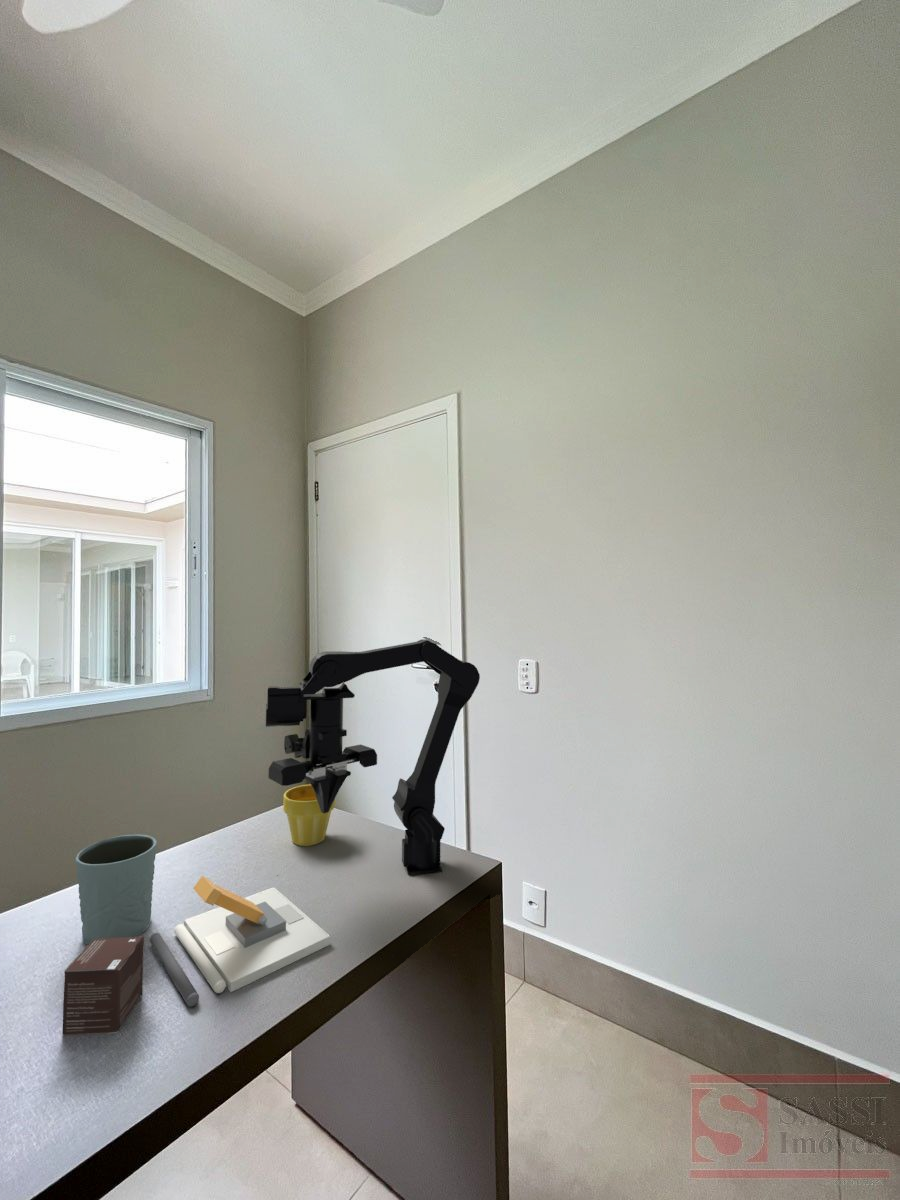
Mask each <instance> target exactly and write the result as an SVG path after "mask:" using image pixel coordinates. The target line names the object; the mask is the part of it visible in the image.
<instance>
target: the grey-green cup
mask: <svg viewBox="0 0 900 1200" xmlns="http://www.w3.org/2000/svg"><path fill="white" fill-rule="evenodd" d="M157 844H158V843H157V839H156V838H155V837H153V836H151V835H147V834H140V833H139V834H125V835H124V834H123V835H118V836H114V837H110V838H107V839H104V840H100V841H98V842H95V843H92V844H90V845H88V846H87V847H85V848H83V849H81V850H80V851H79V852H78V853H77V855H76V857H75V866H76V876H77V884H78V894H79V895H78V898H79V907H80V908H79V909H80V911H79V913H80V920H81V923H82V927H81V935H82V940H83V943H84V944H86V945H87V946H88V945H89V944H90V943H91V942H92V941H93V939H99V938H124V937H139V935H140V934H143V932H145V931H146V930H147V929H148V927H149V926H150V922H151V919H152V904H153V903H152V901H153V888H154V887H153V885H154V883H153V882H154V881H153V880H154V877H155V876H154V875H155V861H156V855H157Z"/></svg>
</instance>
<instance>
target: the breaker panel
mask: <svg viewBox="0 0 900 1200" xmlns="http://www.w3.org/2000/svg"><path fill="white" fill-rule="evenodd" d="M243 898H244V899H246V900H248V901H250V902H253V903H254V904H255V905H256V906H257V907H258V908H259V909H260V910H261V911H262V912H263V913H264V914H265V915H264V916H265V917H266V918H267V921H266V923H265V924H264V925H261V924H260V923H259V924H257V923H255V922H253V921H250V920H248V919H246V918H244V917H242V916H240V915H237V914H235V913H233V912H231V911H229V910H227V909H224V908H222V907H220V906H218V907H216V908H213V909H211V910H208V911H205V912H202V913H200V914H197V915H194V916H191V917H188V918H186V919H184V920H183V921H184V924H183V925H184V926H185V927H186V929H187V930H188V931H189V933H190V934H191V936H192V937H193V938H194V940H195V941H196V942H197V944H198V945H199V947H200V948H201V949H202V951H203V952H204V953H205V955H206V956H207V957H208V959H209V960H210V962H211V963H212V964H213V966H214V967H215V968H216V970H217V971H218V972H219V974H220V975H221V977H222V978H223V979H224V981H225V982H226V988H227V989H228V990H229V992H230V993H232V992H233V993H234V991H237V990H239V989H241V988H242V987H245V986H247V985H249V984H251V983H254V982H255V981H258V980H260V979H261V978H263V977H266V976H267V975H270V974H272V973H274V972H275V971H278V970H280V969H283V968H284V967H287V966H288V965H290V964H293V963H295V962H296V961H298V960H301V959H303V958H305V957H308V956H309V955H312V954H313V953H316V952H317V951H320V950H322V949H324V948H326V947H328V946H330V945H331V936H330V935H329V933H327V932H326V931H325V930H324V929H323V928H322V927H320V926H319V925H318V924H317V923H316V922H315V921H313V919H311V918H310V917H309V916H308V915H306V914H305V913H304V912H303V911H302V910H301V909H300V908H299V907H297V906H296V905H295V904H294V903H293V902H291V901H290V900H289V899H288V898H287V897H286V896H285V895H284V894H282V893H281V892H280V891H279V890H278V889H277V888H275V886H274V887H271V888H268V889H265V890H262V891H259V892H257V893H254V894H252V895H248V896H246V897H243Z"/></svg>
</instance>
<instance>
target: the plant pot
mask: <svg viewBox="0 0 900 1200" xmlns="http://www.w3.org/2000/svg"><path fill="white" fill-rule="evenodd" d="M282 799H283V804H282V805H283V807H282V808H283V811H284V814H286V816H287V820H288V821H287V822H288V825H289V831H290V836H291V840H292V841H291V842H292V843H293V844H295V845H297V846H301V847H310V846H314V845H318V844H320V843H322V842H323V841H324V840H325V838H326V834H327V830H328V825H329V821H330V818H331V813H332V811H333V810H334V808H335V806H336V803H335V802H336V798H335V799H334V801H333V803H332V805H331V808H330V810H329V812H328V813H322V812H321V809H320V807H319V804H318V801H317V798H316V795H315V792H314V790H313V788H312V786H311V784H301V785H298V786H295V787H292V788H290V789H287V790H286V791H285V792H284V793H283V798H282Z"/></svg>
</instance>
